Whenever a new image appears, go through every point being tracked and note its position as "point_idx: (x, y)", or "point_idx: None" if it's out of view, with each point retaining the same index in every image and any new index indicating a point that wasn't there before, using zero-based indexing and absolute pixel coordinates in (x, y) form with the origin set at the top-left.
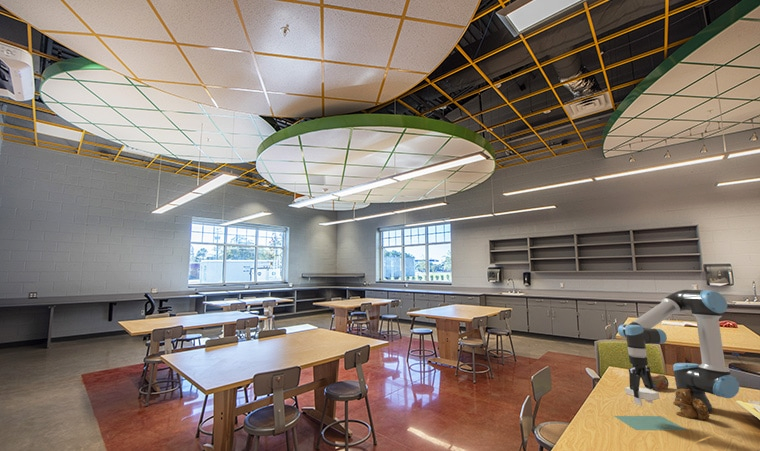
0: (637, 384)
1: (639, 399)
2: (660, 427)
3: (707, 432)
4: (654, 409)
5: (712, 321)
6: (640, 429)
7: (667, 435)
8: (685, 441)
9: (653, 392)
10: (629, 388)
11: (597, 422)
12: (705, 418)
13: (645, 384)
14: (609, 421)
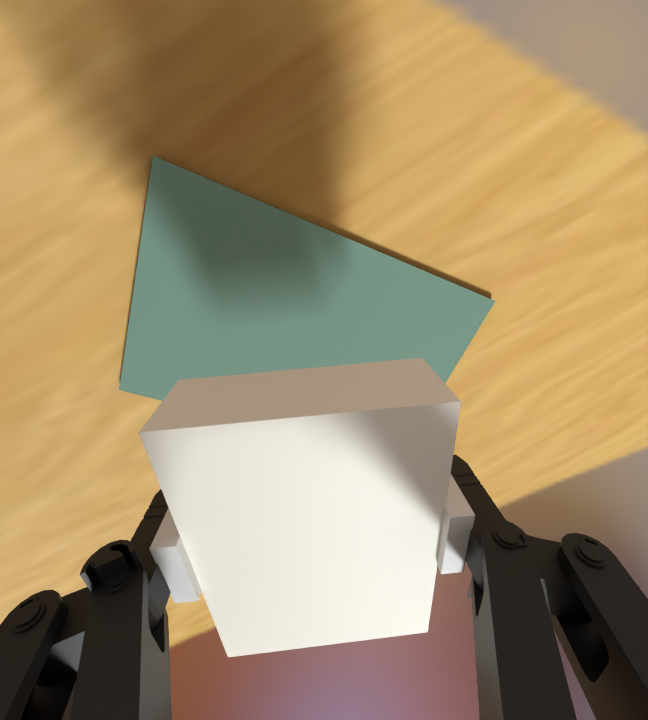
0: (561, 665)
1: None
2: (312, 270)
3: (3, 69)
4: (53, 466)
5: None
6: (465, 296)
7: (386, 178)
8: (377, 41)
9: (250, 450)
10: (405, 611)
11: (539, 434)
12: None
13: (163, 660)
14: (475, 426)
